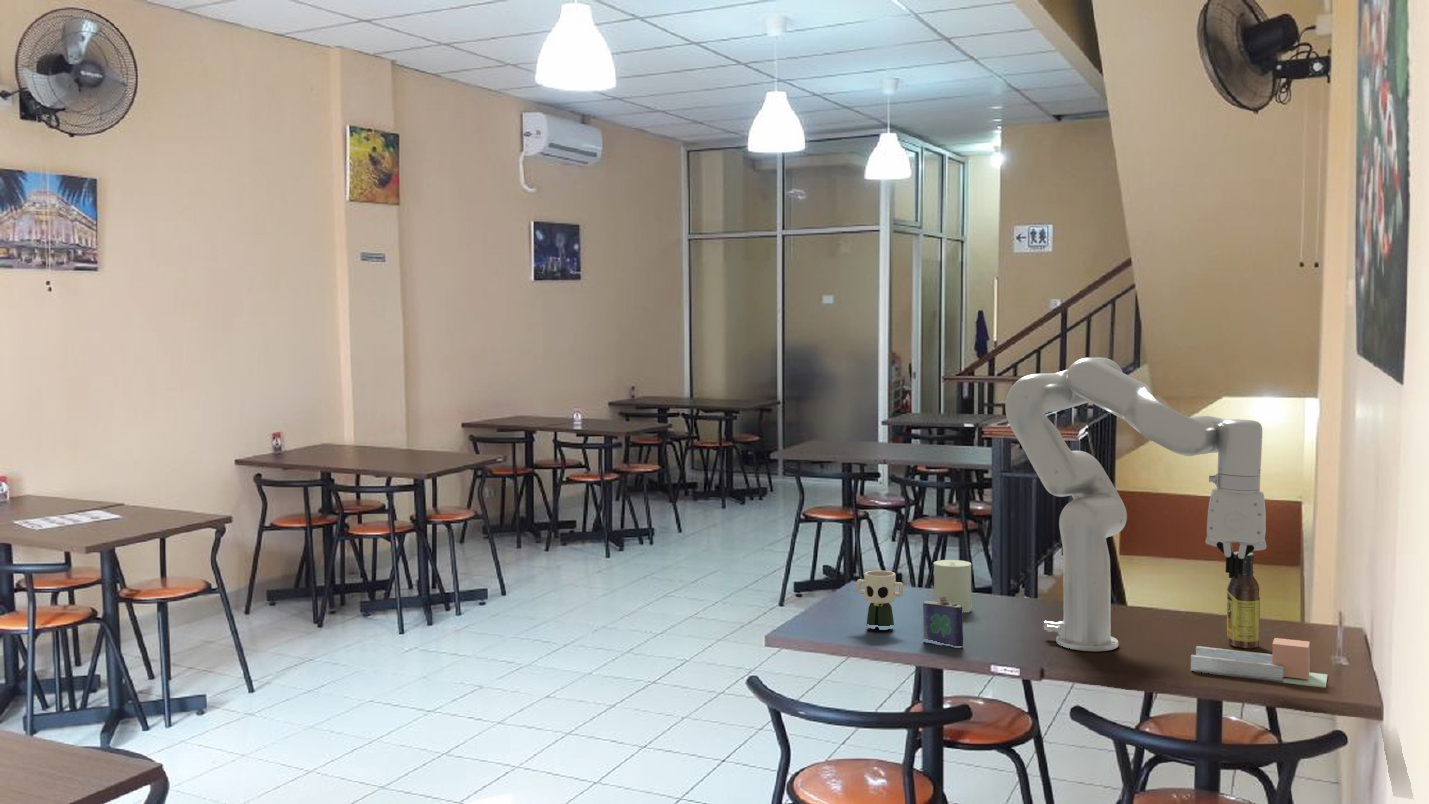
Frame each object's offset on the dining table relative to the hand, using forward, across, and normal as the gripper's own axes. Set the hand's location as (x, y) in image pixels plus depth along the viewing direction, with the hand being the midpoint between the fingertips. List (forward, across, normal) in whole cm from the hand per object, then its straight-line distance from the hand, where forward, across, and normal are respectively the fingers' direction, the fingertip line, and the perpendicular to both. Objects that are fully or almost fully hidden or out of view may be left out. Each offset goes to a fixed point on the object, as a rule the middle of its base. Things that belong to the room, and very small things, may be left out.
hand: (1234, 576), depth 213 cm
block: (+17, +11, 0) cm, 20 cm away
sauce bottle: (+19, 0, +21) cm, 28 cm away
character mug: (+21, -72, -1) cm, 76 cm away
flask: (+21, -55, -7) cm, 60 cm away
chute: (+18, +2, 0) cm, 18 cm away
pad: (+18, +13, 0) cm, 22 cm away
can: (+21, -64, +26) cm, 73 cm away
